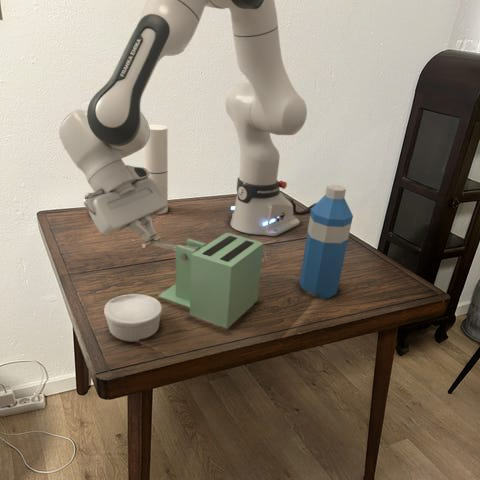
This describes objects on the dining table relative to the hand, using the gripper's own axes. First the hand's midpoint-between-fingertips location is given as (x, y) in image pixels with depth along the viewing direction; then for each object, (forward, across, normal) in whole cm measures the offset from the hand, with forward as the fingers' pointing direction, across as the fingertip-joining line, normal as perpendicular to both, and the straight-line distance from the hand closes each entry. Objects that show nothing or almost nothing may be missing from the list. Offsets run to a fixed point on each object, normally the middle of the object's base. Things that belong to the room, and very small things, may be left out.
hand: (151, 238), depth 108 cm
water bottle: (+32, +22, -15) cm, 41 cm away
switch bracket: (+16, 0, +1) cm, 16 cm away
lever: (+5, 0, -3) cm, 6 cm away
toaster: (+22, 0, -5) cm, 23 cm away
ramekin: (+14, -17, +3) cm, 22 cm away
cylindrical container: (-12, +40, +29) cm, 51 cm away
